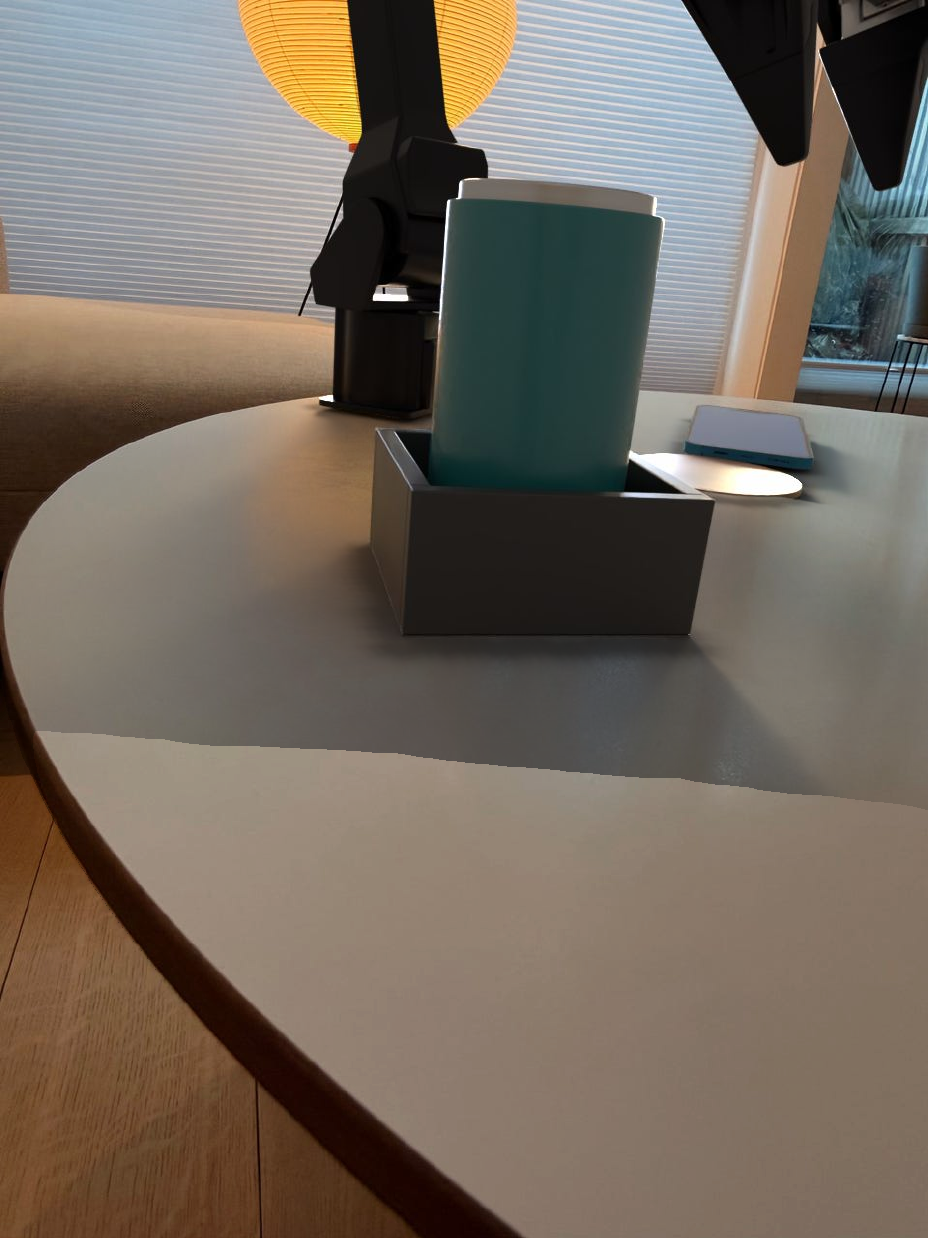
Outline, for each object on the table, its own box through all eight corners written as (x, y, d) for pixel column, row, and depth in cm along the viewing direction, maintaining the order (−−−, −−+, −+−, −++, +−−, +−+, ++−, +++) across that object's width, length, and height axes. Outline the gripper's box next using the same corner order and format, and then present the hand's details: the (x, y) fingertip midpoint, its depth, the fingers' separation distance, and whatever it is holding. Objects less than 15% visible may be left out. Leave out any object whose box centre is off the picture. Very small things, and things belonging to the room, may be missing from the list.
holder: (368, 551, 33) (375, 426, 31) (594, 556, 35) (611, 437, 33) (401, 648, 25) (411, 490, 24) (688, 647, 27) (716, 500, 25)
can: (387, 590, 28) (411, 171, 24) (465, 543, 33) (496, 191, 29) (576, 635, 26) (638, 185, 22) (628, 577, 31) (687, 204, 27)
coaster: (605, 481, 47) (606, 473, 46) (646, 453, 54) (648, 446, 54) (792, 513, 43) (794, 505, 43) (807, 479, 51) (809, 472, 51)
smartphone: (682, 442, 54) (696, 403, 67) (680, 458, 54) (693, 416, 68) (816, 459, 52) (802, 416, 66) (812, 476, 53) (799, 429, 66)
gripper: (970, -620, 23) (990, 51, 26) (1128, -284, 36) (1130, 143, 39) (609, -318, 31) (652, 173, 34) (843, -130, 44) (861, 216, 47)
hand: (844, 176), depth 38 cm, fingers open, 9 cm apart
